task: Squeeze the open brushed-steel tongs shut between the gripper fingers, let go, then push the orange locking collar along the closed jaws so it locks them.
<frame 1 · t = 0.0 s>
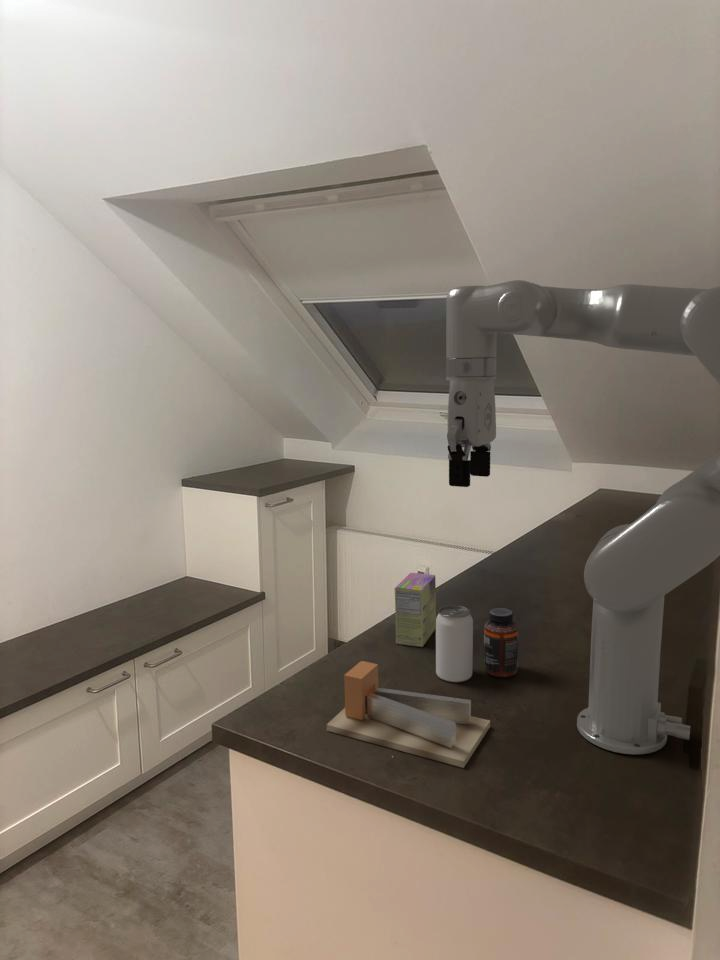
hand: (470, 480, 107), 37 cm above the counter, tool pointing down, fingers open, 9 cm apart
tongs board: (367, 718, 108), on the counter
jaw b: (409, 719, 102), point 3 cm above the counter, hinge at -10.0°
can: (454, 676, 122), on the counter
jaw a: (421, 705, 106), point 3 cm above the counter, hinge at 10.0°
box: (416, 637, 140), on the counter
supplement bottle: (500, 672, 123), on the counter
lock collar: (361, 689, 108), point 5 cm above the counter, slide at 0.0 cm
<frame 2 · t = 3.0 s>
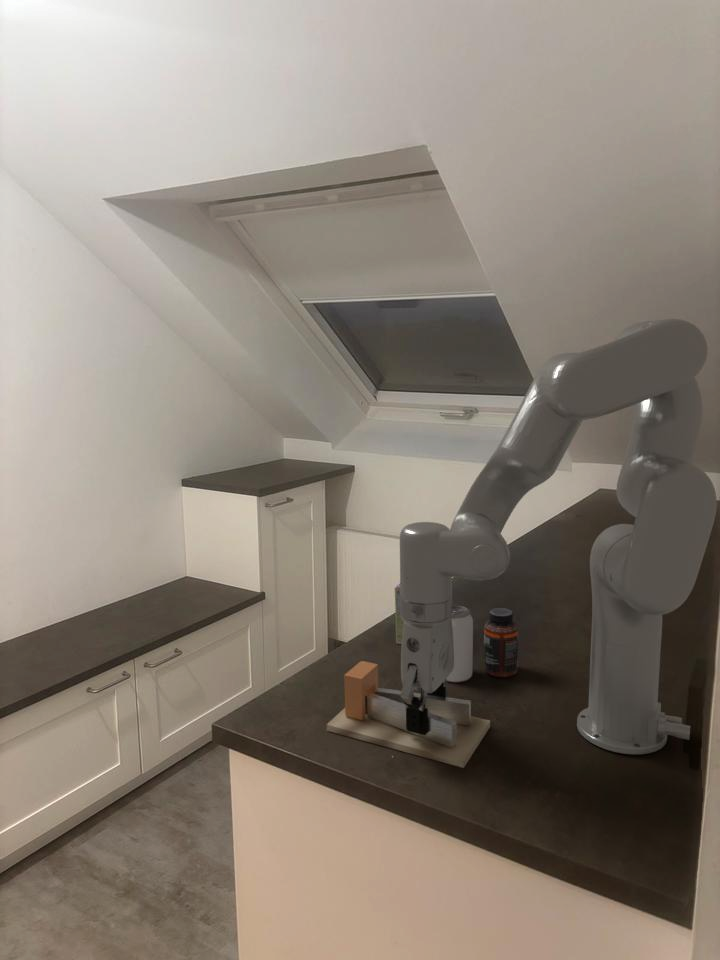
hand: (426, 719, 103), 2 cm above the counter, tool pointing down, fingers open, 6 cm apart
jaw b: (410, 719, 102), point 3 cm above the counter, hinge at -9.5°, touching gripper
jaw a: (421, 705, 106), point 3 cm above the counter, hinge at 9.3°, touching gripper
everything else where it was.
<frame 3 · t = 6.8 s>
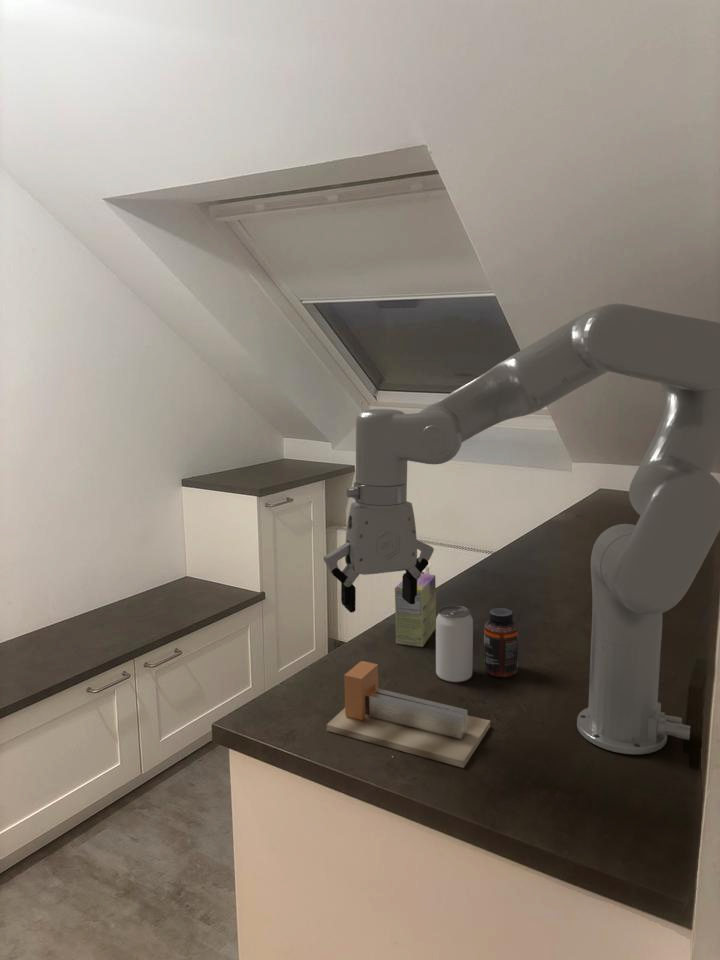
hand: (379, 605, 103), 19 cm above the counter, tool pointing down, fingers open, 9 cm apart
jaw b: (415, 714, 103), point 3 cm above the counter, hinge at 0.3°
jaw a: (419, 710, 104), point 3 cm above the counter, hinge at -1.0°
everything else where it was.
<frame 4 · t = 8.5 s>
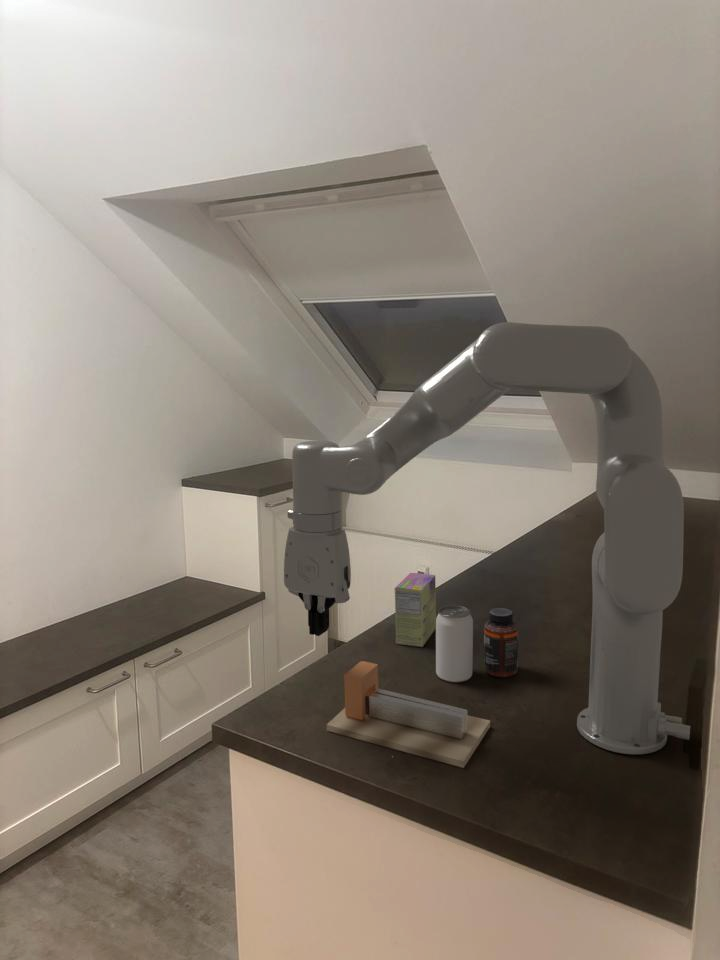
hand: (318, 632, 110), 13 cm above the counter, tool pointing down, fingers closed
nothing on the counter moved.
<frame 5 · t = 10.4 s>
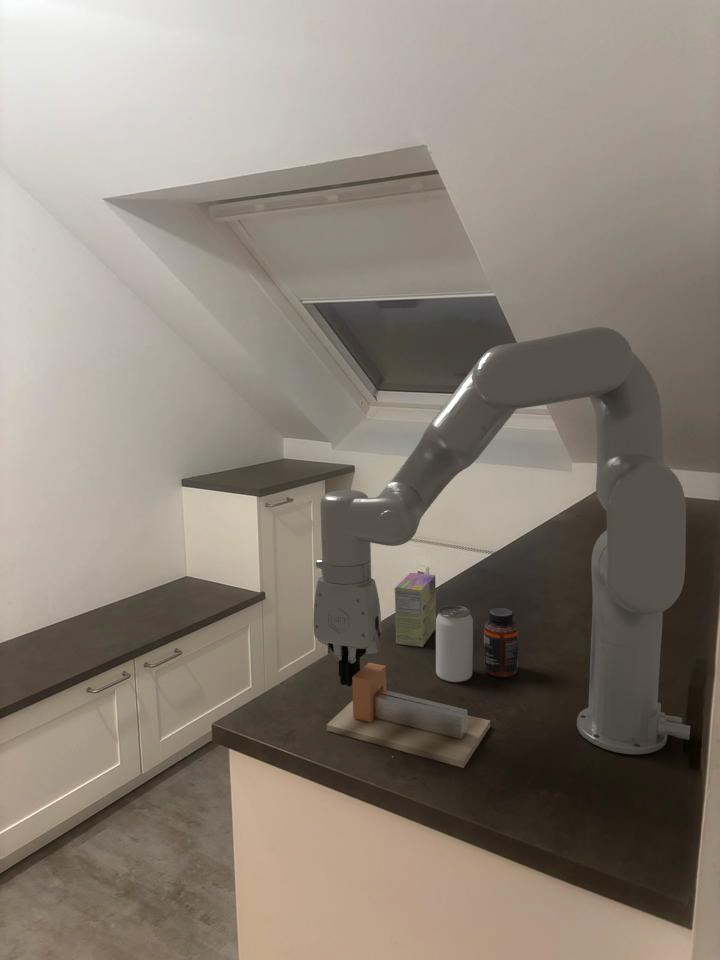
hand: (349, 681, 109), 5 cm above the counter, tool pointing down, fingers closed
lock collar: (369, 691, 107), point 5 cm above the counter, slide at 1.4 cm, touching gripper
everything else where it was.
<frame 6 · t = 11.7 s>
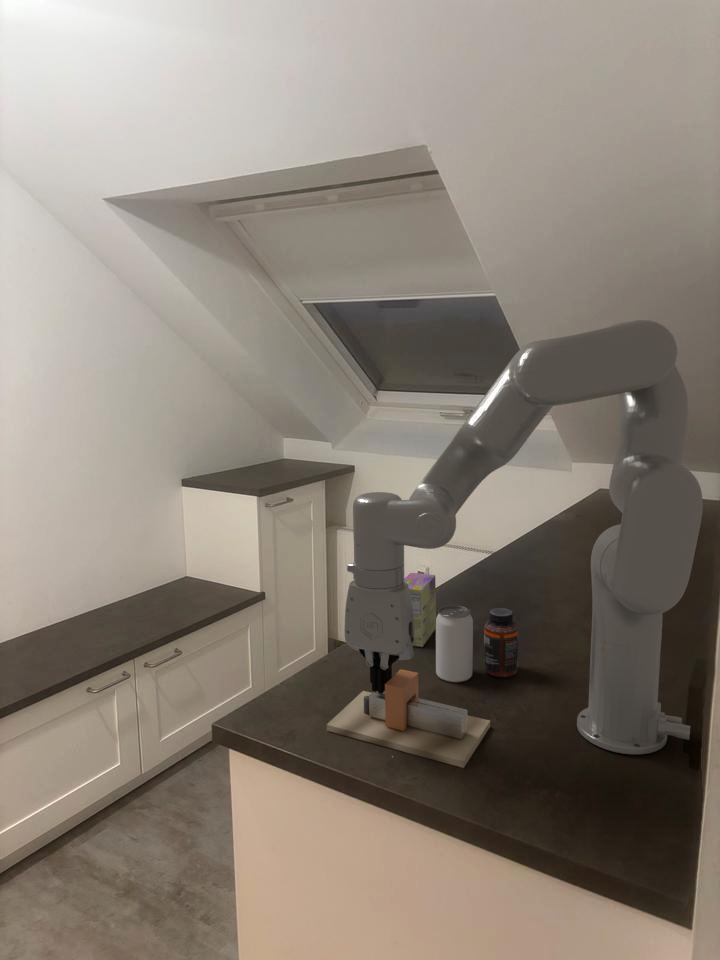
hand: (381, 688, 106), 6 cm above the counter, tool pointing down, fingers closed
lock collar: (402, 699, 105), point 5 cm above the counter, slide at 7.0 cm, touching gripper
everything else where it was.
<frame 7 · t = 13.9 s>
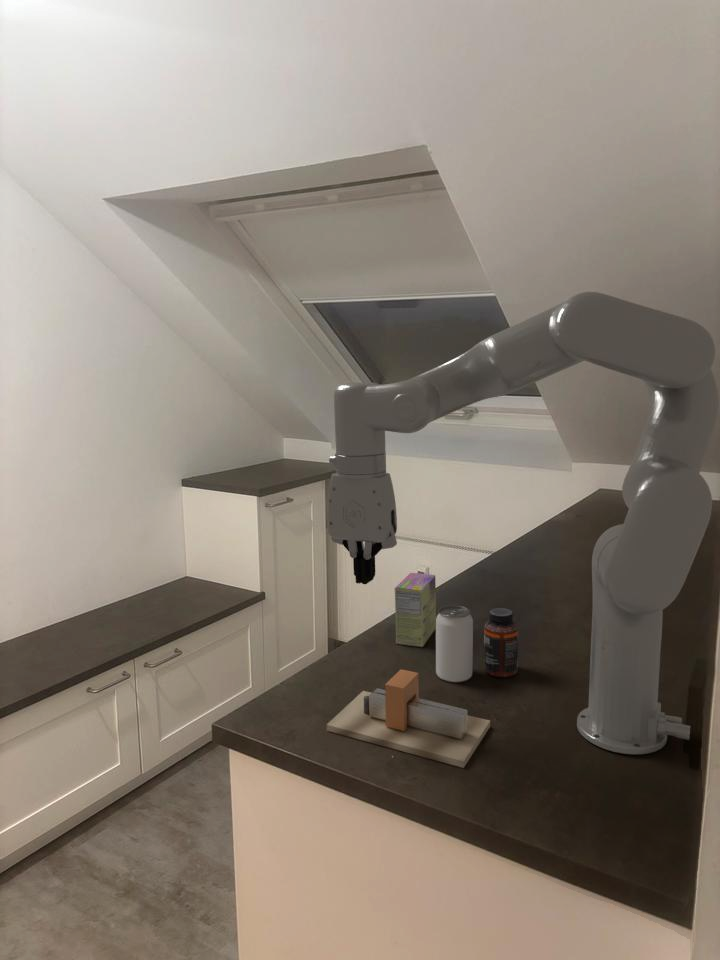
hand: (364, 581, 107), 22 cm above the counter, tool pointing down, fingers closed
lock collar: (402, 699, 105), point 5 cm above the counter, slide at 7.0 cm
everything else where it was.
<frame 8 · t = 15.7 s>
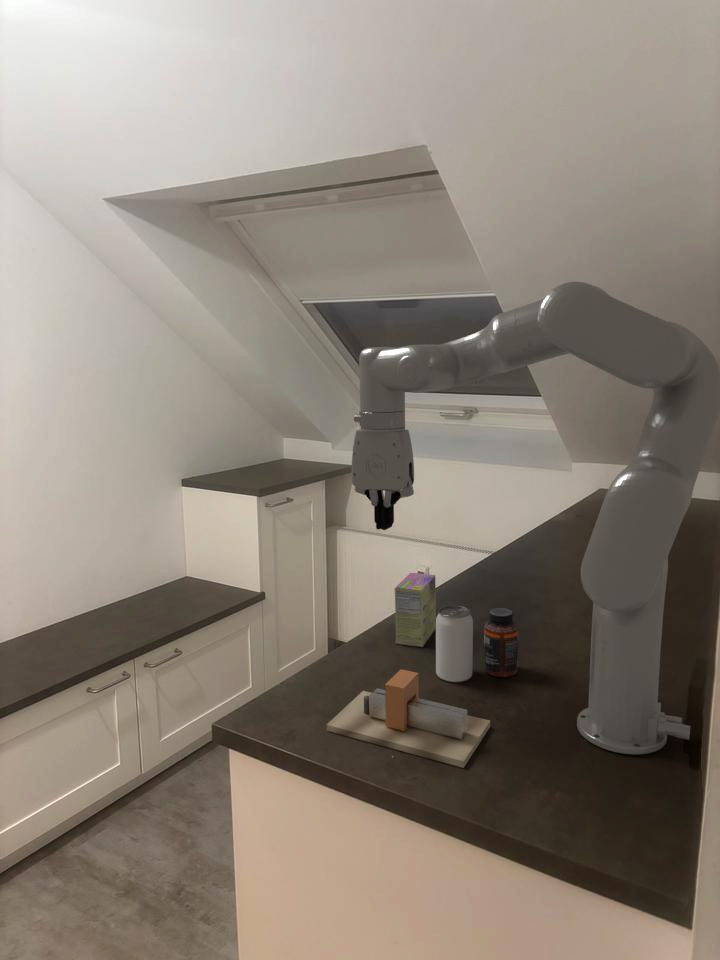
hand: (384, 527, 118), 27 cm above the counter, tool pointing down, fingers closed
nothing on the counter moved.
at the end: lock collar slide at 7.0 cm; jaw a at -1° (first picture: +10°); jaw b at +0° (first picture: -10°) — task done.
